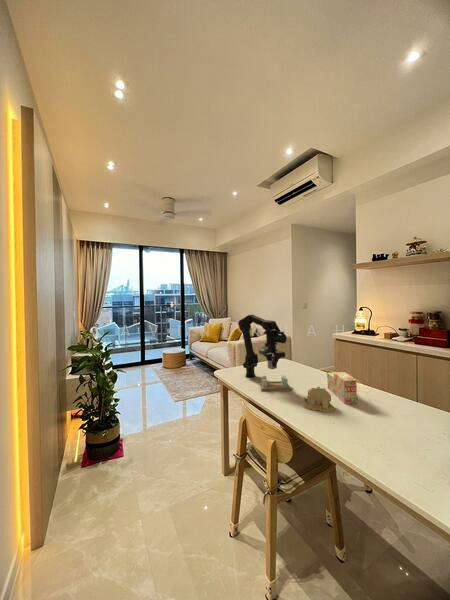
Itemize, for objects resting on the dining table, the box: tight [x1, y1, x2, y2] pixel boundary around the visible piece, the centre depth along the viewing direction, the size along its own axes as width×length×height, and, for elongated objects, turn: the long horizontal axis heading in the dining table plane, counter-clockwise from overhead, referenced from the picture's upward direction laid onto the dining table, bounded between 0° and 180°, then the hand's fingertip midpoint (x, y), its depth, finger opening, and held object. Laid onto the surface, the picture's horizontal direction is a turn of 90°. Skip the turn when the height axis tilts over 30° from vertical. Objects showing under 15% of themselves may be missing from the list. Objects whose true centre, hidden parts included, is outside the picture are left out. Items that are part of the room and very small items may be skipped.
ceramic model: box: [302, 386, 336, 413], centre depth 123 cm, size 14×11×10 cm
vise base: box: [259, 375, 292, 392], centre depth 150 cm, size 12×17×6 cm
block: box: [266, 359, 278, 370], centre depth 155 cm, size 4×4×5 cm
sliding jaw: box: [280, 374, 289, 387], centre depth 150 cm, size 8×2×4 cm, turn 176°
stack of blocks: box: [326, 371, 358, 405], centre depth 135 cm, size 21×6×12 cm, turn 0°
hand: (272, 366), depth 155 cm, fingers closed on block, 4 cm apart
